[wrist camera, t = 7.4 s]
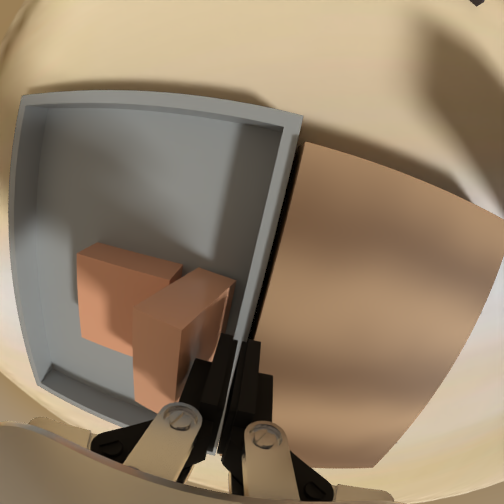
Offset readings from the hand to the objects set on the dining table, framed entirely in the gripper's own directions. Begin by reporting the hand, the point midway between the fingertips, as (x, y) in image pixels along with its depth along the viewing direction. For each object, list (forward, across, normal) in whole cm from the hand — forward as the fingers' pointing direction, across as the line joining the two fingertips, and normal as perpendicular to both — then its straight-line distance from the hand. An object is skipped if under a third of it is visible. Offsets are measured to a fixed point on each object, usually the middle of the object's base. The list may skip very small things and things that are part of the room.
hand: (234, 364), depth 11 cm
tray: (+4, +7, 0) cm, 8 cm away
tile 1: (+1, +6, 0) cm, 6 cm away
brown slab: (+4, -6, 0) cm, 7 cm away
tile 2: (0, +1, 0) cm, 1 cm away
